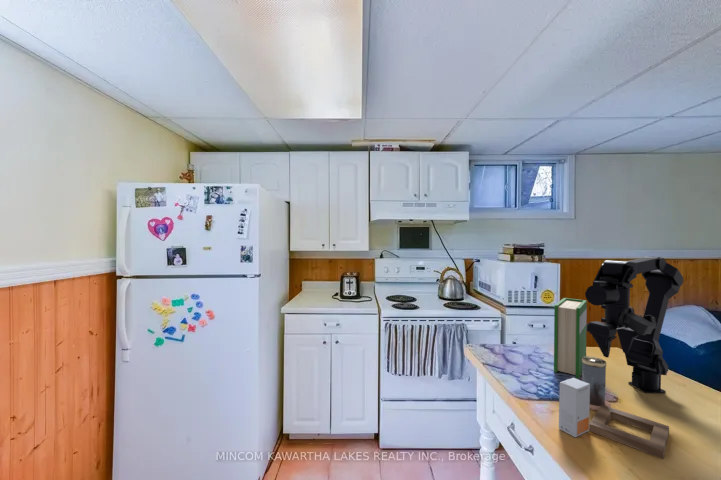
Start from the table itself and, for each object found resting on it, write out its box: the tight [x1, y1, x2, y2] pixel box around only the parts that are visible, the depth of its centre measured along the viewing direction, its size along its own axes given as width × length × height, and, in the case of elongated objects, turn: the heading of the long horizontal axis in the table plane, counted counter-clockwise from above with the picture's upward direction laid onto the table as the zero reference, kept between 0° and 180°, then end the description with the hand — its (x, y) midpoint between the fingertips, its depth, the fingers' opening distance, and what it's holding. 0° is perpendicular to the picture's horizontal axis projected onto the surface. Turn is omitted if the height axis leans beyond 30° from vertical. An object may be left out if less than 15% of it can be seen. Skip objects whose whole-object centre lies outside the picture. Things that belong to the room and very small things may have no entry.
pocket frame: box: [588, 405, 670, 460], centre depth 78 cm, size 13×13×2 cm
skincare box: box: [558, 377, 590, 438], centre depth 79 cm, size 6×4×12 cm
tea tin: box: [581, 355, 607, 406], centre depth 91 cm, size 6×6×12 cm
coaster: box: [589, 399, 612, 412], centre depth 91 cm, size 8×8×1 cm
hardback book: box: [553, 297, 588, 379], centre depth 116 cm, size 18×7×24 cm, turn 138°
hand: (616, 355), depth 94 cm, fingers open, 9 cm apart
